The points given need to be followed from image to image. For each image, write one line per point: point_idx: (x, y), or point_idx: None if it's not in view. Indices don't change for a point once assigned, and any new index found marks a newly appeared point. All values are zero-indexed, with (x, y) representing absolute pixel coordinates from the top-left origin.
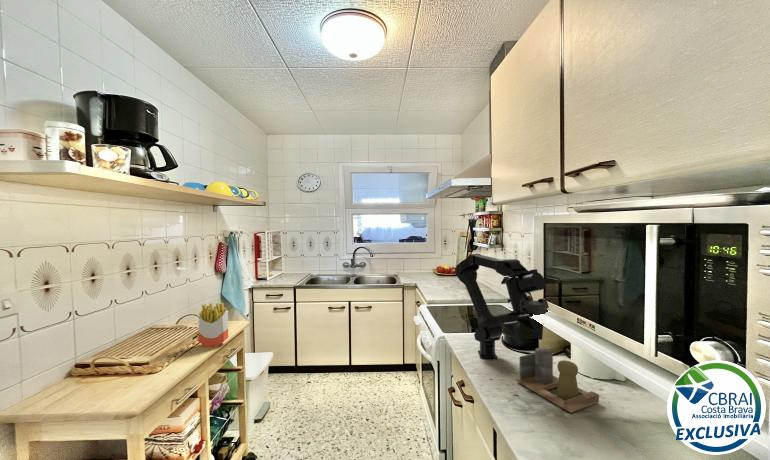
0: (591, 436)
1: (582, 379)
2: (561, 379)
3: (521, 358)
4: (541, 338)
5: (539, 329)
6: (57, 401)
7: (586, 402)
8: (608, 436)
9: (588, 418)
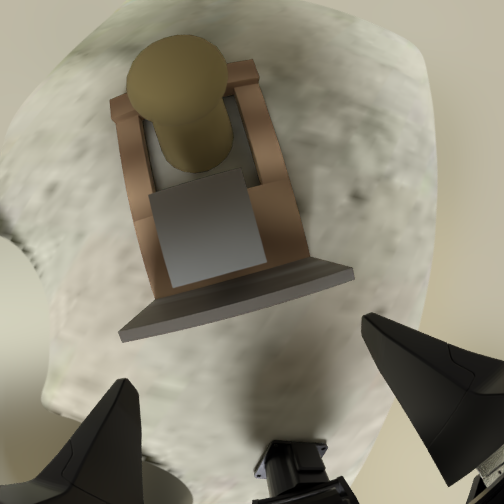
0: (265, 19)
1: (56, 256)
2: (221, 100)
3: (346, 267)
4: (122, 382)
5: (103, 448)
6: None
7: None
8: (226, 14)
9: None
